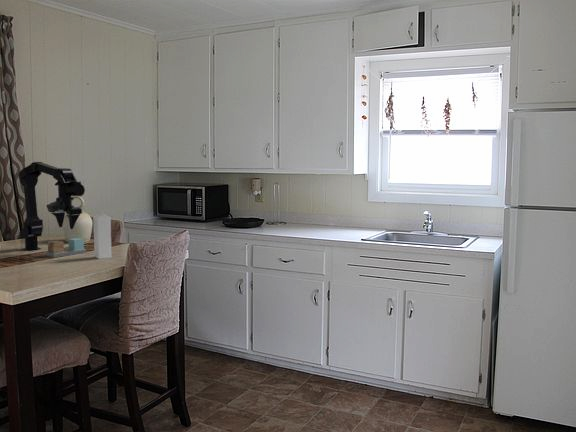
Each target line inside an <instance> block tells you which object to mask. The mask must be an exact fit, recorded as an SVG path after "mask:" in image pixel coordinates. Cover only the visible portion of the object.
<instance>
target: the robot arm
mask: <svg viewBox="0 0 576 432" xmlns="http://www.w3.org/2000/svg"><path fill="white" fill-rule="evenodd" d="M42 173H44V174H46V175H48V176H51V177H52V178H53V179H54V180H56V181H57V182H56V183H54V186H57V191H58V192H57V193H58V196H57V197H56V199H55V201H53V202H50V203H49V204H48V203H47V204H46V208H47V211H48V212H49V213H50V214H51V215H52V216H54V217H55V220H56V222H57V224H58V227H59V228H62V225H63V221H64V217H65V215H66V216H67V217H68V218H69V224H70V229H73V227H74V225H75V223H76V221H77V219H78V217H79V216H80V214H82V211H83V208H82V209H81V208H76V207H75V206H74V205H73V203H72V202H73V200H74V199H73V196H80V197H82V196H83V195H85V192H86V189H85V186H84V185H83V184H82V181H79V180H77V178H76V176H75V174H74V173H73V170H72V169H71V168H67V167H66V168H65V167H64V168H63V167H57V166H53V165H50V164H47V163H44V162H42V161H33V162H31V163H30V164H29V165H27V166H24V168H22V169H21V170H20V171H19V172H18V179H19V183H20V184H21V186H22V187H23V192H24V193H23V194H24V202H25V203H24V204H25V213H26V217H25V219H24V222H23V228H22V229H21V230H20V232H19V238H21V239H24V247H22V248H21V250H24V251H35V250H41V249H42V248H41V247H39V246H38V245H39V243H38V238H39V237H42V233H43V231H44V230H43V229H44V223H43V219H40V217H39V216H38V207H37V205H38V203H37V194H36V193H37V192H36V186H37V184H38V182H39V177H40V176H41V175H42ZM72 205H73V206H72ZM74 207H75V208H74ZM67 214H69V215H67Z"/></svg>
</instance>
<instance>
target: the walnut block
mask: <svg viewBox="0 0 576 432" xmlns="http://www.w3.org/2000/svg"><path fill="white" fill-rule="evenodd" d="M64 243H65V242H64V241H61V240H52V241H47V252H48V253H53V254H56V253H62V252H64V250H65V244H64Z"/></svg>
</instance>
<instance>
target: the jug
mask: <svg viewBox="0 0 576 432" xmlns="http://www.w3.org/2000/svg"><path fill="white" fill-rule="evenodd" d="M72 197H73V200H75V199H78V200H79V201H80V202H81V204H80V205H79V206H77V207H76V208H81V209H82V214H80V216H79V217H78V219H77V221H76V223H75V225H74V227H73V229H70V224H69V218H68V217H67V216H66V215H69V214H67V213H66V214H65V216H64V221H63V225H62V227H61V228H62V232H63V237H64V240H65V243H68V239H74V238H80V239H84V243H87V242H90V240H91V236H92V230H93V219H92V217H91V216H90V214H88V213H87V212H86V211H84V210H83V208H84V206H85V200H84V198H83V197H82V196H72ZM72 206H74V205H73V204H72ZM74 208H75V206H74Z"/></svg>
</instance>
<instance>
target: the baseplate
mask: <svg viewBox="0 0 576 432" xmlns="http://www.w3.org/2000/svg"><path fill="white" fill-rule="evenodd" d="M87 253H88V251H87V249H85V248H84V249H82V250H76V251H74V250H69V248H68V249H64V252H62V253H56V254H53V253H48V251H46V252H45V256H46V257H50V258H54V259H55V258H60V257H67V256H73V255H80V254H87Z"/></svg>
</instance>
